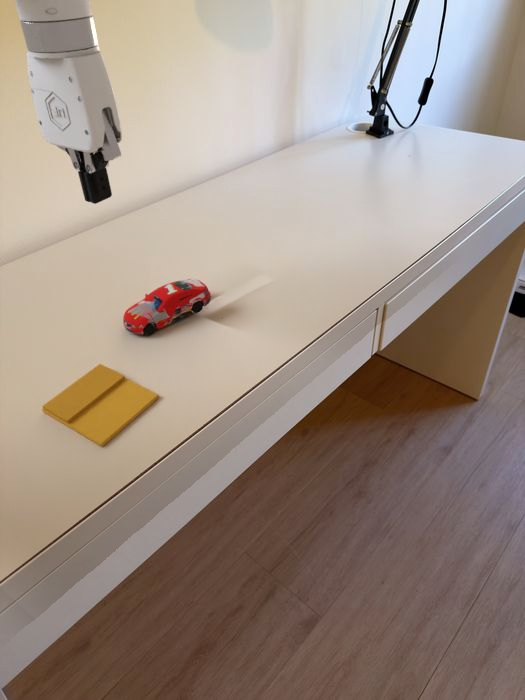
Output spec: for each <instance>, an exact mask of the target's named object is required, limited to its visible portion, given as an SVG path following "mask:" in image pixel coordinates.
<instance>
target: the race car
mask: <svg viewBox="0 0 525 700" xmlns="http://www.w3.org/2000/svg"><path fill="white" fill-rule="evenodd" d="M144 296H145V297H144V298H143V299H141V300H140V301H138V302H136V303H134V304H133V305H131V306H129V307H128V308H127V309H126V310H125V311H124V313H123V319H122V320H123V322H122V323H123V326H124V328H125V330H126V331H128V332H130V333H131V334H134V335H144V334H145V335H146V336H152V335H153V334H155V332H156V331H157V329H158V330H160V329H162V328H164V327H165V326H168V325H171V324H173V323H175V322H177V321H179V320H181V319H183V318H185V317H188V316H189V315H192V314H198V313H199V314H200V312H202V310H203V308H206V307H207V306H208V305H209V304H210V302H211V301H212V296H211V292H210V290H209V288H208V286H207V284H205V283H204V282H203V281H201V280H200V279H197V278H189V279H180V280H175V281H173V282H168V283H167V284H164V285H161V286H160V287H159V286H158V287H157V288H155V289H154V290H153V291H151V292H150V293H145V294H144Z"/></svg>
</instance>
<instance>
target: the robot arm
mask: <svg viewBox="0 0 525 700" xmlns="http://www.w3.org/2000/svg"><path fill="white" fill-rule="evenodd" d="M14 4H15V8H16V12H17V14H18V15H17V16H18V18H19V22H20V26H21V31H22V34H23V37H24V41H25V45H26V48H27V52H26V64H27V73H28V79H29V86H30V91H31V96H32V101H33V105H34V109H35V114H36V117H37V122H38V126H39V130H40V132H41V135H42V138H43V140H45V141H46V142H47V143H49V144H51V145H53V146H56V147H57V148H59V149H60V150H62V151H64V152H65V153H66V154H67V155H68V156H69V157H70V161H71V163H72V166H73V168H74V169H75V170H76V171H77V174H78V178H79V183H80V186H81V189H82V194H83V196H84V201H85V202H88V203H91V204H94V205H96V204H99V203H101V202H104V201H105V200H108V199H110V198H111V197H112V196H113V193H112V187H111V183H110V179H109V174H108V170H107V168H109V166H110V162H111V161H114V160H117V159H119V158H121V157H122V152H121V149H120V146H119V143H121V142H122V139H123V129H122V122H121V117H120V113H119V108H118V103H117V99H116V95H115V92H114V88H113V85H112V84H113V83H112V81H111V78H110V74H109V71H108V67H107V64H106V62H105V59H104V56H103V54H102V51H100V46H99V45H100V44H99V41H98V36H97V31H96V27H95V20H94V17H93V11H92V6H91V1H90V0H14Z"/></svg>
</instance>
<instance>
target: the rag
mask: <svg viewBox="0 0 525 700" xmlns="http://www.w3.org/2000/svg"><path fill="white" fill-rule="evenodd" d="M159 398H160V396H159V394H158V393H156V392H154V391H152V390H150V389H148V388H146V387H144V386H142V385H140V384H139V383H136V382H134V381H132V380H130V379H128V378H126V376H125V375H124V374H121V373H120V372H118V371H115V370H113V369H111V368H109V367H108V366H106V365H104V364H101V363H99V364H97V365H96V366H95V367H93V368H92V369H90V370H89V371H88V372H87V373H85V374H84V375H82V376H81V377H79V378H78V379H77V380H76V381H74V382H73V383H72V384H70V385H69V386H67V387H66V388H65V389H63V390H62V391H61V392H59V393H58V394H56V395H55V396H54V397H53V398H51V399H50V400H48V401H47V402H46V403H44V404H43V405H42V408H41V411H42V412H43V413H45V415H47V416H49V417H51V418H52V419H54V420H56V421H58V422H59V423H61V424H62V425H64V426H66V427H67V428H69V429H70V430H73V431H74V432H76V433H78V434H79V435H80V436H82V437H84V438H85V439H87V440H89V441H91V442H92V443H94V444H96V445H97V446H99V447H101V448H102V447H104V446H105V445H106V444H107V443H108V442H109V441H111V440H112V439H113V438H114V437H115V436H116V435H118V434H119V433H120V432H121V431H123V429H125V428H126V427H127V426H128V425H129V424H130V423H131V422H132V421H134V420H135V419H136V418H137V417H139V416H140V414H141V413H143V412H144V411H145V410H146V409H147V408H149V407H150V406H151V405H152V404H154V402H155V401H156V400H158V399H159Z"/></svg>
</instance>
